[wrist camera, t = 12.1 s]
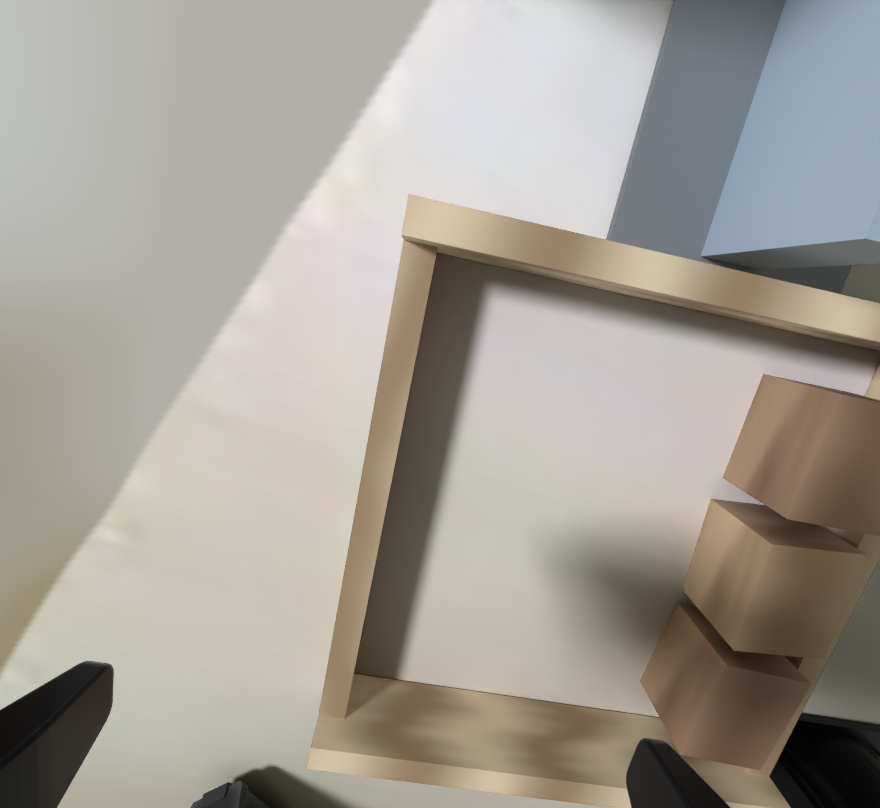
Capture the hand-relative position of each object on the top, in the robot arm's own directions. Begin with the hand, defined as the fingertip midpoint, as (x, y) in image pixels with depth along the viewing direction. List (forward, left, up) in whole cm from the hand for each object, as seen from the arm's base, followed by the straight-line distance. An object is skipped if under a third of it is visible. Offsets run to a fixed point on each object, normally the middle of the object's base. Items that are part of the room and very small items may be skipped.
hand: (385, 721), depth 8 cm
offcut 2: (-17, +2, -13) cm, 21 cm away
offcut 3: (-17, +8, -13) cm, 23 cm away
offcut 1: (-17, -4, -13) cm, 22 cm away
